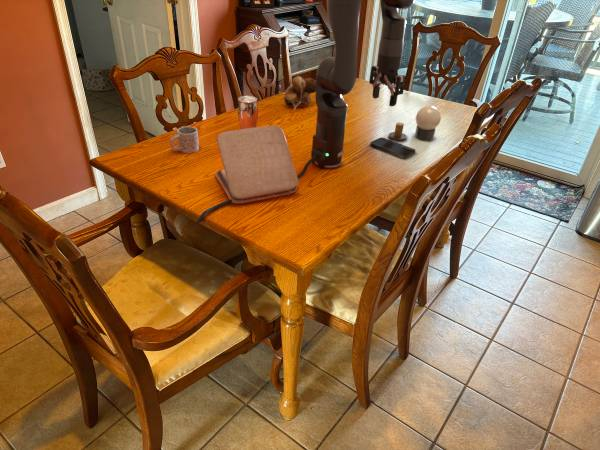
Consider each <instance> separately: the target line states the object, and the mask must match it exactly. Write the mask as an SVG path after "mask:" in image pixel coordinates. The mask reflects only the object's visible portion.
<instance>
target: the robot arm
mask: <svg viewBox="0 0 600 450" xmlns="http://www.w3.org/2000/svg"><path fill="white" fill-rule="evenodd" d="M415 1H416V0H379V2H380V11H381V13H380V14H381V19H382V26H381V35H380V40H379V44H378V52H377V60H376V65H372V66H371V67H370V73H369V81H368V83H369V84H370V85H372V98H373V99H378V98H379V97H380V91H381V85H385V86H387V89H388V90H389V92H390V97H389V103H388V107H391V108H392V107H395V106H396V105H397V103H398V96H401V95H404V90H405V80H406V76H405V75H399V70H400V68H401V65H402V60H403V59H402V58H403V51H404V40H405V39H404V38H405V33H406V24H407V20H406V18H405V17H403V16H402V15H400V14H399V9H400V10H407V9H409V8H411V7H412V6H413V5H414V3H415ZM361 7H362V0H326V13H327V19H328V22H329V25H330V29H331V32H332V35H333V40H334V47H335V48H334V49H335V51H334V52H335V53H334V56H328V57H325V58H323V59H322V60H321V61H320V63H319V64H318V67H317V69H316V73H315V74H316V75H315V76H316V77H315V81H316V92H315V104H316V107H317V111H316V124H315V134H313V135H312V144H311V153H310V157H311V158H310V159H309V160H308V161H307V162H306V163H305V165H304V167H303V168H302V170H301V171H300V173H298V174H297V178H298V179H300V178H301V177H302V176H303V175H304V174H305V173H306V172H307V169H308V168H309V166H310V165H311V164H314V165H315V166H317V167H318V168H319V169H321V170H323V169H327V170H329V169H331V170H332V169H337V168H339V167H341V166H342V164H343V155H344V154H345V152H346V151H345V149H344V143H345V135H346V124H347V115H348V104H347V102H346V100H344V98H343V96H346V95H348V94H349V93H351V91H352V90H353V89H354V87H355V84H356V81H357V75H358V40H359V39H358V38H359V27H360V17H361V16H360V14H361V9H362V8H361ZM230 204H233V203H232V200H229V199H227V200H225V201H222V202H220V203H218V204H215V205H213V206H211V207H209V208H207V209H205V210H204V211H203V212H202V213H201V214H200V215H199V217H198V219H197V221H196V223H197V224H201V223H202V221H203V220H204V218H205V216H206V215H207V214H209V213H211V212H213V211H215V210H217V209H219V208H221V207H223V206H226V205H230Z"/></svg>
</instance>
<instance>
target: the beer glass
mask: <svg viewBox="0 0 600 450" xmlns="http://www.w3.org/2000/svg"><path fill="white" fill-rule="evenodd" d="M237 116H238V122H239V127H240V130H241V129H246V128H255V127H257V124H258V117H259V103H258V98H257V97H256V96H253V95H241V96H239V97H238V98H237Z"/></svg>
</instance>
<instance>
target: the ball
mask: <svg viewBox="0 0 600 450" xmlns="http://www.w3.org/2000/svg"><path fill="white" fill-rule="evenodd" d="M441 120H442V115H441V112H440V111H439V109H438V108H437V107H435V106H432V105H425V106H423V107H421V108H420V109H419V110H418V111H417V112H416V115H415V123H416V126H417V125H418V127H419V128H421V129H423V130H433V129H435V128H436V129H437V127H438V126H440V123H441Z"/></svg>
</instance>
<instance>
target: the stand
mask: <svg viewBox="0 0 600 450" xmlns="http://www.w3.org/2000/svg"><path fill="white" fill-rule="evenodd" d="M436 129H437V127H436V128H435V129H433V130H423V129H421V128H419V127H418V125H417V124H416V128H415V133H414V138H415V139H417V140H418V141H419V140H420V141H424V142H430V141H433V140H434V138H435V135H436Z"/></svg>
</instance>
